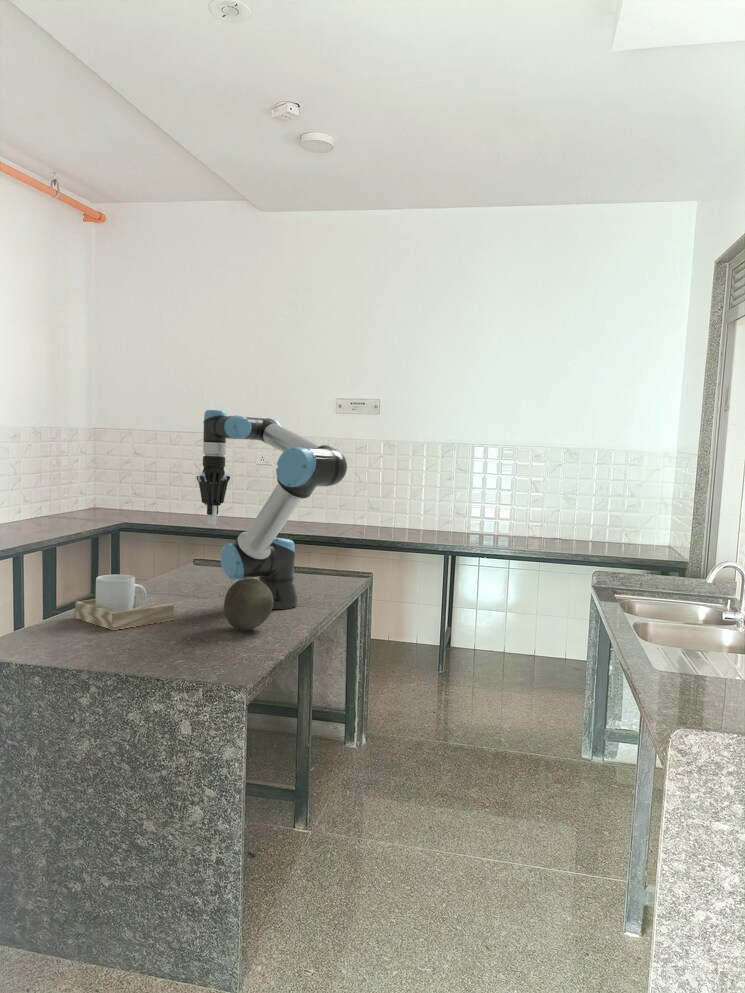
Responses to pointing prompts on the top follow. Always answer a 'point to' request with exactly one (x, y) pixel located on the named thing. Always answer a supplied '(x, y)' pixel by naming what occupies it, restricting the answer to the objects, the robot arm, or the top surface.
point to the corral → (122, 615)
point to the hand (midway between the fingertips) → (212, 524)
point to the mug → (117, 592)
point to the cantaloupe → (248, 604)
